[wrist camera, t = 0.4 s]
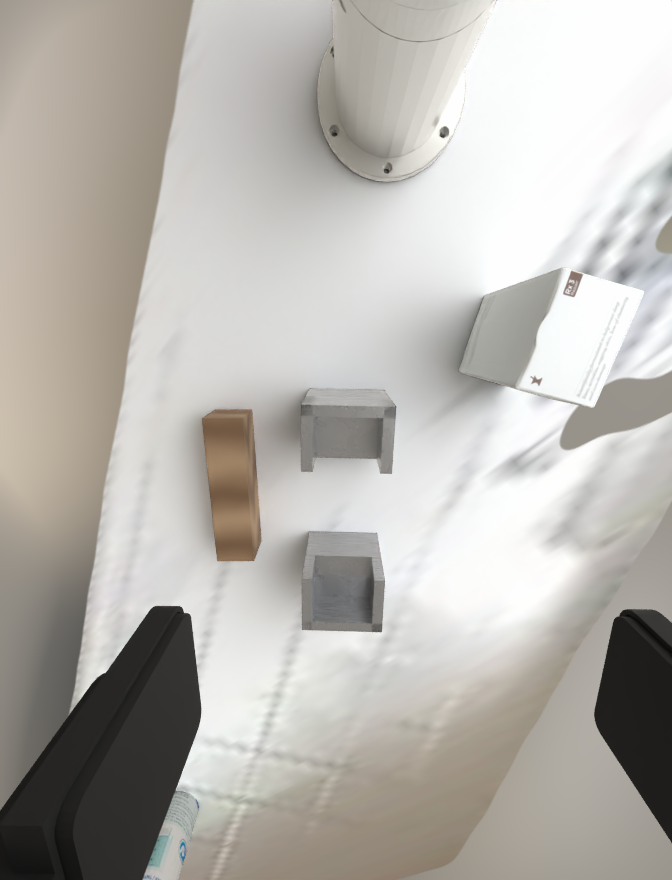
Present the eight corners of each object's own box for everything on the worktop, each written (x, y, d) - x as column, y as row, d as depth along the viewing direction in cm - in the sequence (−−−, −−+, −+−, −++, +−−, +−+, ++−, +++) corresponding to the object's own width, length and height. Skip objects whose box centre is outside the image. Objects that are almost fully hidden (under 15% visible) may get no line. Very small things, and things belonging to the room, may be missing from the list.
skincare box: (507, 386, 41) (596, 417, 27) (453, 370, 41) (513, 394, 26) (539, 304, 39) (655, 291, 24) (482, 288, 38) (565, 264, 24)
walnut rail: (216, 409, 42) (201, 418, 38) (252, 409, 42) (242, 418, 38) (228, 539, 47) (217, 561, 43) (261, 539, 47) (253, 560, 42)
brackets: (309, 388, 41) (300, 404, 33) (384, 390, 41) (396, 406, 33) (309, 575, 48) (302, 629, 39) (374, 576, 48) (381, 632, 39)
